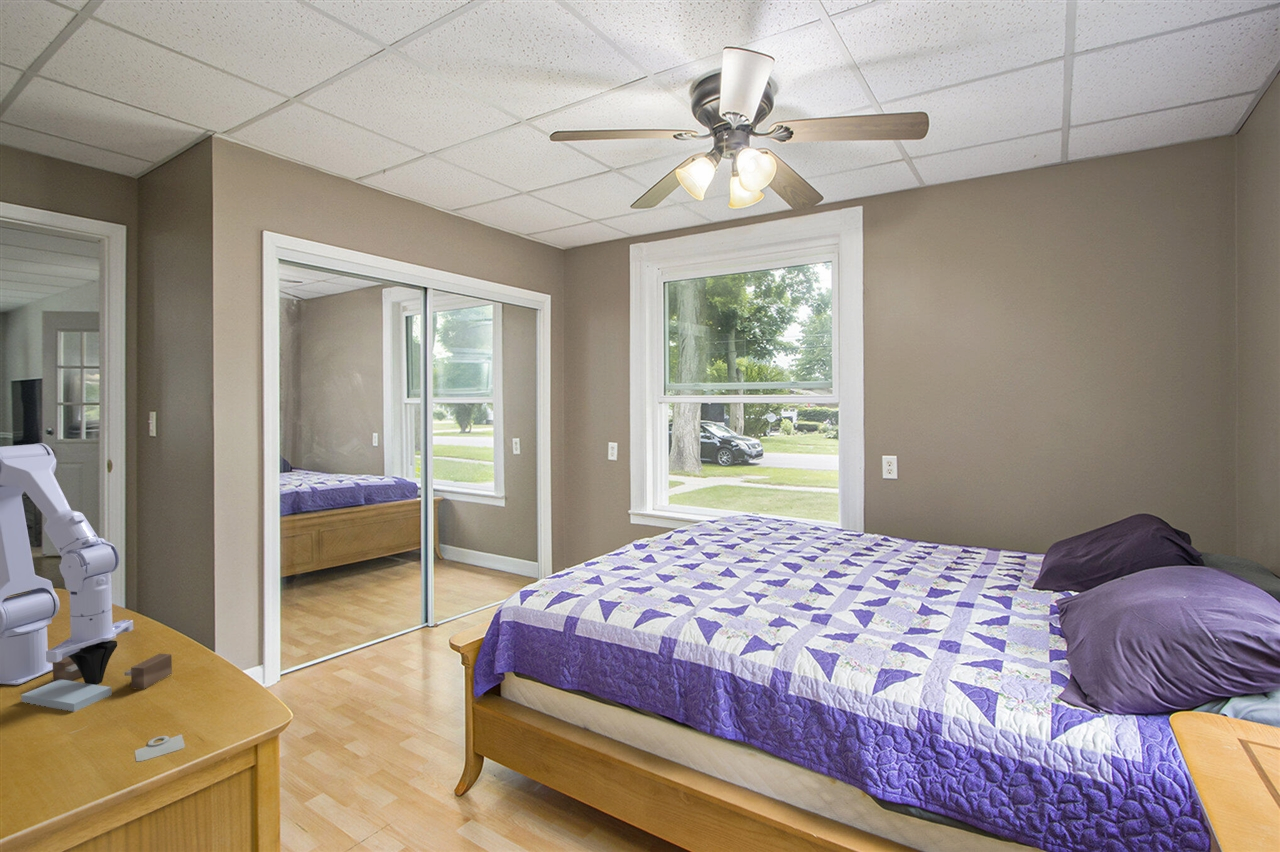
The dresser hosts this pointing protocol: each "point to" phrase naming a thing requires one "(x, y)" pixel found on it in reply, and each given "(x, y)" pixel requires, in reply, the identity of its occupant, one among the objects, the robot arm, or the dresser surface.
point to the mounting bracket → (159, 747)
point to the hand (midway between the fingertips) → (93, 683)
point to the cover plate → (66, 695)
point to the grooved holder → (139, 673)
